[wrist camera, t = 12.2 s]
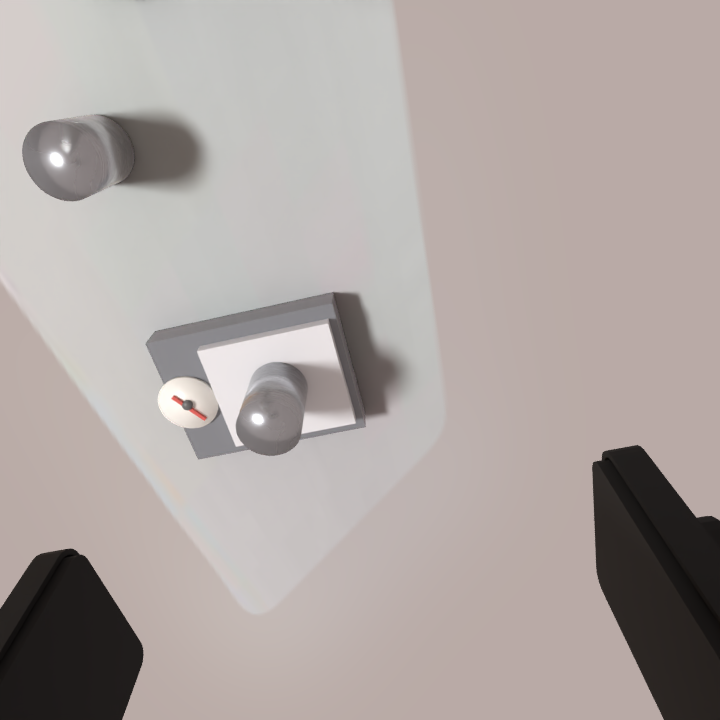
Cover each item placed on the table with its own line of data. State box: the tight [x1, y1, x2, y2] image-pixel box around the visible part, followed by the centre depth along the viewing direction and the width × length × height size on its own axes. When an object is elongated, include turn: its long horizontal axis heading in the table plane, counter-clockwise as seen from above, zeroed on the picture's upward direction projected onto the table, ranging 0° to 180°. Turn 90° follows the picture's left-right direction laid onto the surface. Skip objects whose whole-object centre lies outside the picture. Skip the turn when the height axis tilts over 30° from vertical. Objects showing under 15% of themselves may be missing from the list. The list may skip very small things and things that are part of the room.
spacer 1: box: [22, 115, 135, 201], centre depth 31 cm, size 4×4×5 cm
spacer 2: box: [236, 362, 308, 456], centre depth 36 cm, size 4×4×5 cm
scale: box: [146, 292, 366, 459], centre depth 39 cm, size 10×14×3 cm
